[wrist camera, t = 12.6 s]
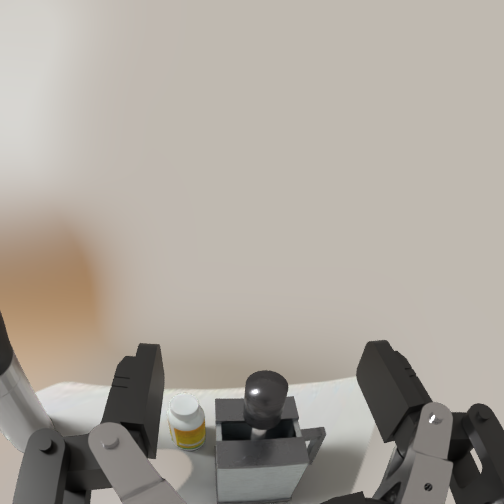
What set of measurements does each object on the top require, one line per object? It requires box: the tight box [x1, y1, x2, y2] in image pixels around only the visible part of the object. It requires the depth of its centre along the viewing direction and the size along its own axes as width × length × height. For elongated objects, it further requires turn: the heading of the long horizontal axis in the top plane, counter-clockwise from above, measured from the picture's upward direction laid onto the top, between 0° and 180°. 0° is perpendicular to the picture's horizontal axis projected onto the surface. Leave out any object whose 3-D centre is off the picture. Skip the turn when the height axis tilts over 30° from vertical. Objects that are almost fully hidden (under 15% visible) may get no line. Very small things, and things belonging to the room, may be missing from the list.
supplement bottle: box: [167, 393, 206, 451], centre depth 40 cm, size 5×5×10 cm
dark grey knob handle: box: [243, 371, 288, 440], centre depth 32 cm, size 7×7×18 cm
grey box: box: [215, 396, 326, 504], centre depth 34 cm, size 13×10×14 cm
